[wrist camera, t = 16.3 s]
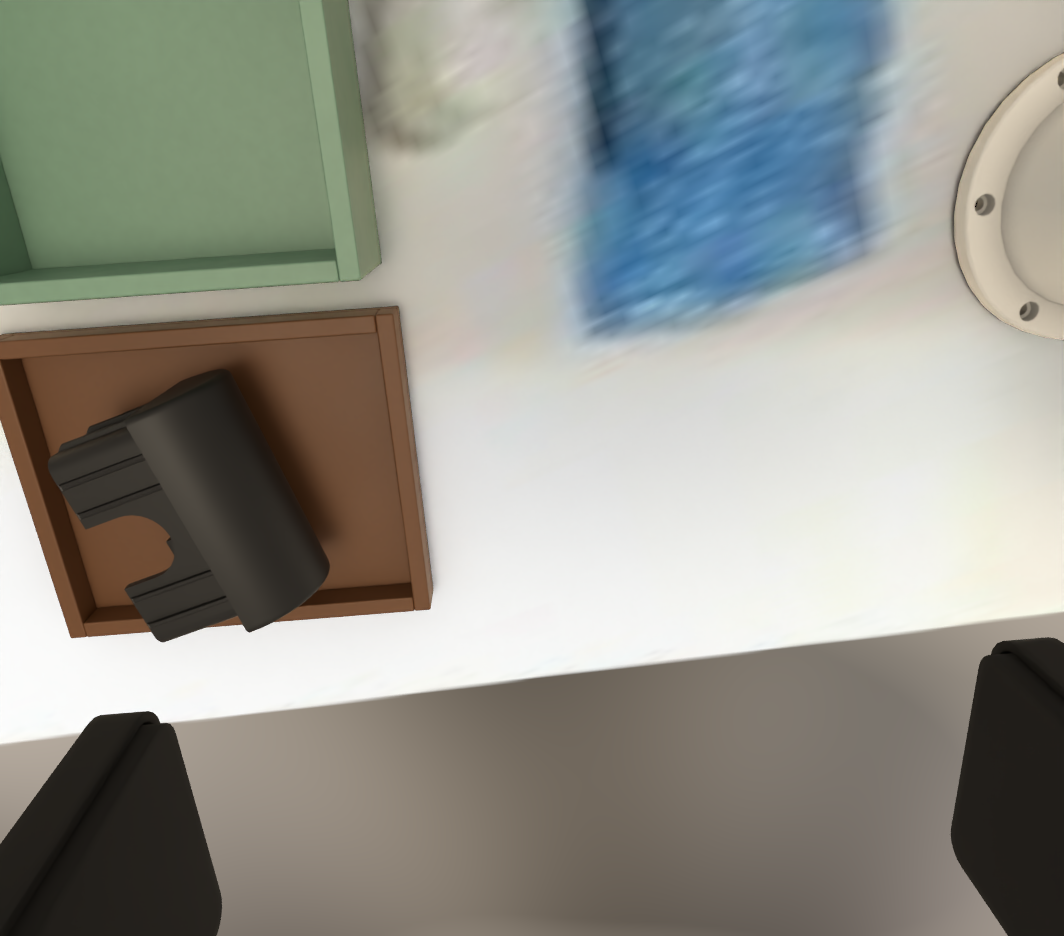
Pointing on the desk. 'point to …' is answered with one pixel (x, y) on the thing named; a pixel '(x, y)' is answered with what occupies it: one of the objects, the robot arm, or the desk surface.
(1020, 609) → the desk surface
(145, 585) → the end cap
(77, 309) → the desk surface
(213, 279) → the tote
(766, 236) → the desk surface
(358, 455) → the tray
